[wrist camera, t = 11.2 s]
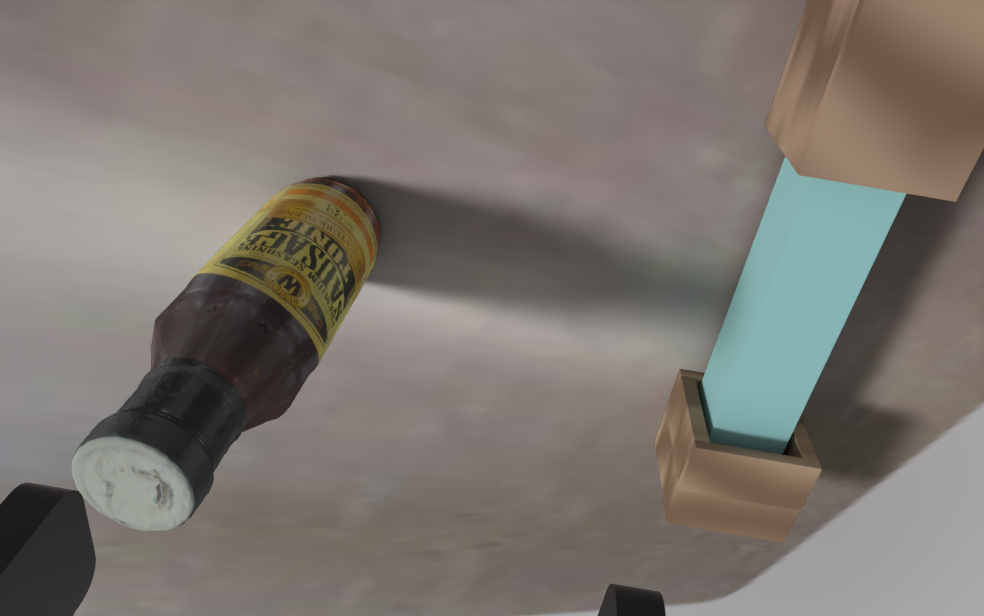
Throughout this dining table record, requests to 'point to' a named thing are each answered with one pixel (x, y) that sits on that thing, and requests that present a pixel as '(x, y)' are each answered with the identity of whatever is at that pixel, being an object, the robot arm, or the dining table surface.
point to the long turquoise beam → (791, 306)
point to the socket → (729, 473)
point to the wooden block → (885, 94)
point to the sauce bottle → (231, 353)
